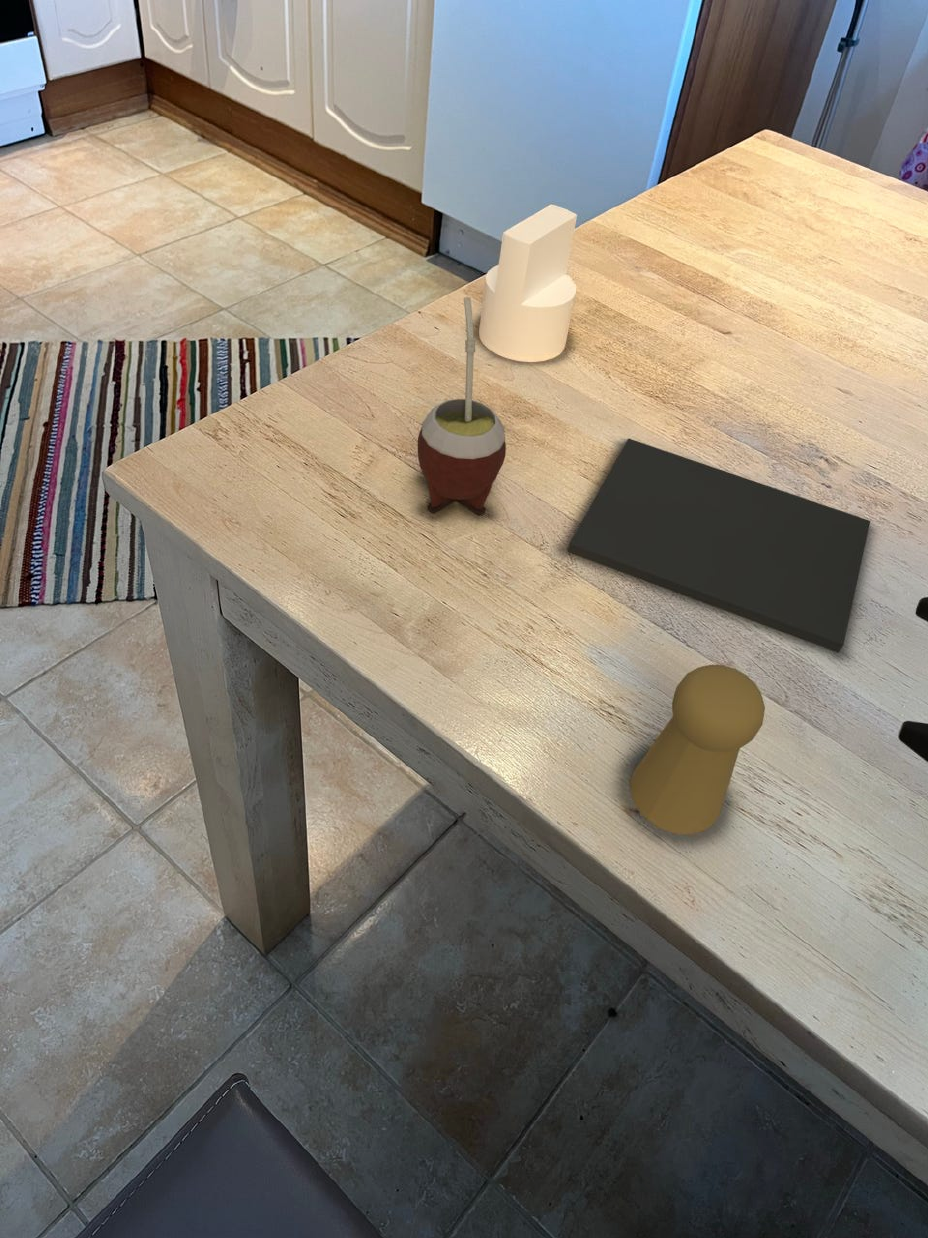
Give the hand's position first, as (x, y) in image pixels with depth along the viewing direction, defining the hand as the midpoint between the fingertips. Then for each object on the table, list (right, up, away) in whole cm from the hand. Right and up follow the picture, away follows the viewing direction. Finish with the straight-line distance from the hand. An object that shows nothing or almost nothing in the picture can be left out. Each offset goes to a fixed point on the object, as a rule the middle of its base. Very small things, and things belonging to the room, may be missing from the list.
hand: (909, 664), depth 48 cm
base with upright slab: (-17, +31, +49) cm, 61 cm away
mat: (-1, +9, +31) cm, 32 cm away
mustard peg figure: (-9, -9, +13) cm, 19 cm away
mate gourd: (-24, +13, +32) cm, 41 cm away
